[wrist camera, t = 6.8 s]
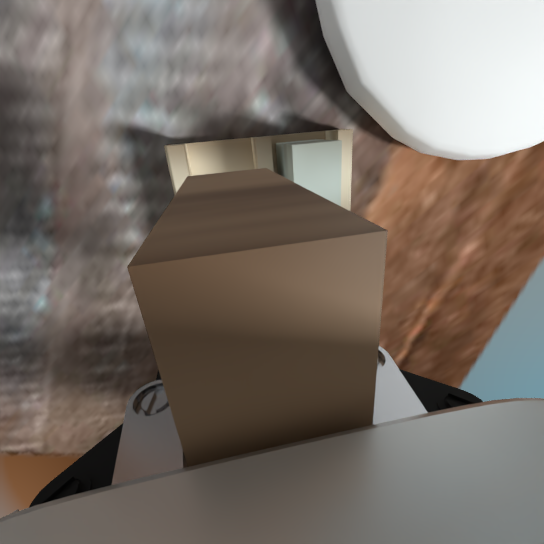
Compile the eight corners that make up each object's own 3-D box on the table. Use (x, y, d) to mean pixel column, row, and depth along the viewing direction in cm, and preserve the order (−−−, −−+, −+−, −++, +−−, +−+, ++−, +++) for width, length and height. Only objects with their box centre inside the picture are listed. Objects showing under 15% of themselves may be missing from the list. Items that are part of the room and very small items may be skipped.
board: (187, 176, 11) (127, 266, 3) (266, 167, 12) (387, 230, 4) (228, 394, 16) (246, 659, 8) (284, 382, 16) (357, 624, 8)
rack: (165, 145, 22) (150, 148, 16) (339, 129, 23) (378, 127, 18) (196, 292, 27) (193, 332, 21) (337, 270, 28) (367, 302, 23)
